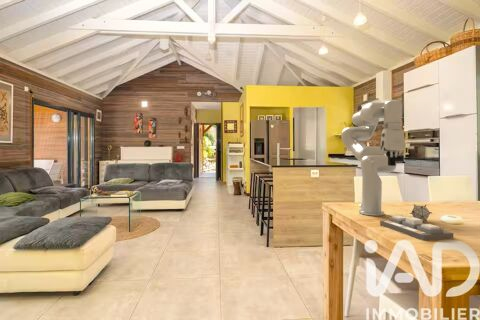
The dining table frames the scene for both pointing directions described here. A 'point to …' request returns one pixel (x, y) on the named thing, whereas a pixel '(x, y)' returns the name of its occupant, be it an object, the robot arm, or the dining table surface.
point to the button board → (416, 230)
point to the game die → (420, 212)
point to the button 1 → (399, 217)
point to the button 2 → (429, 226)
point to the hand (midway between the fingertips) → (391, 165)
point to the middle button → (414, 221)
